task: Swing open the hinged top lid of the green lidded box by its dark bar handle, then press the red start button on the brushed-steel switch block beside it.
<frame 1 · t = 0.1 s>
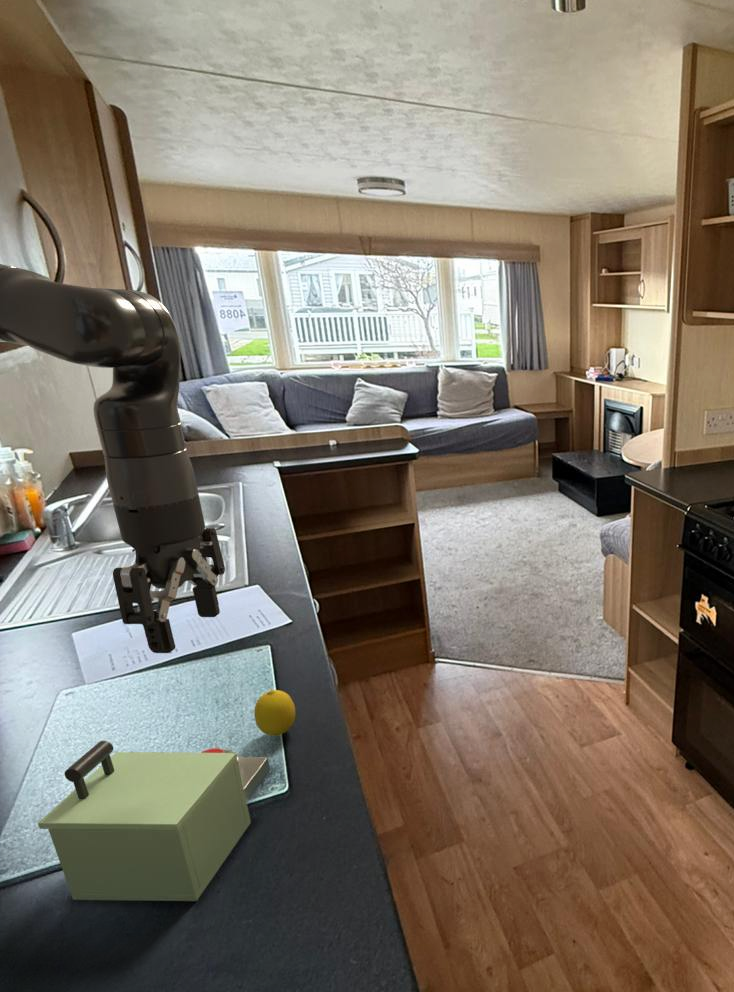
hand: (187, 632, 73), 28 cm above the counter, tool pointing down, fingers open, 8 cm apart
start button: (210, 761, 87), point 4 cm above the counter, slide at 0.1 cm
lemon: (279, 736, 100), on the counter
lid: (140, 773, 73), point 12 cm above the counter, hinge at 0.0°
green lidded box: (168, 858, 78), on the counter
switch block: (216, 788, 89), on the counter
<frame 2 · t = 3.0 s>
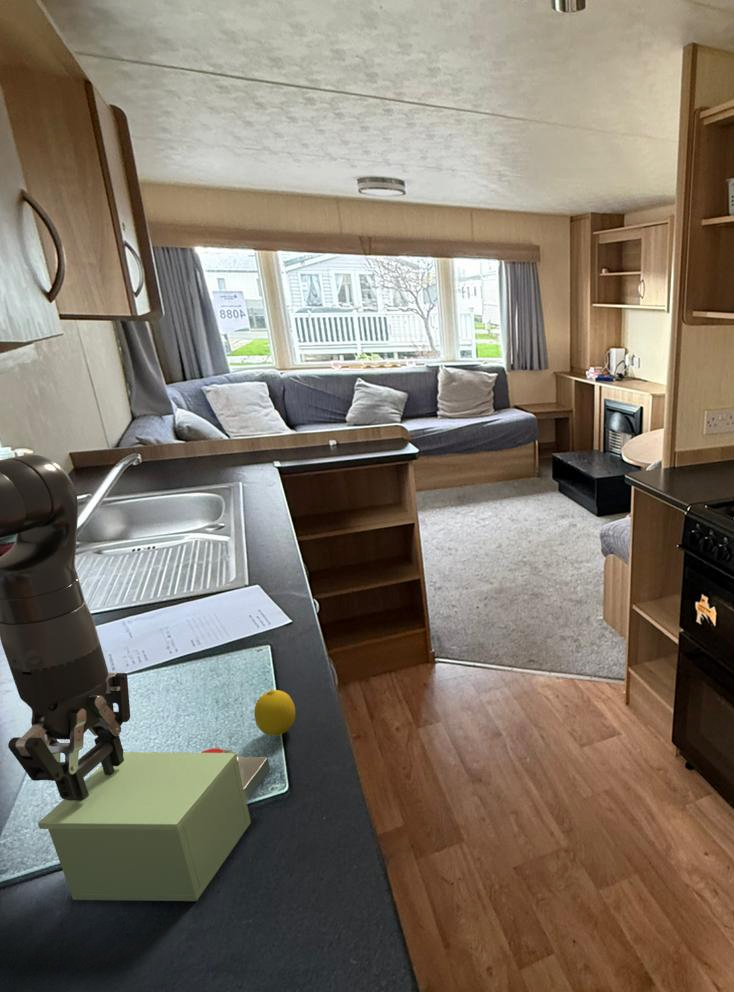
hand: (95, 780, 74), 11 cm above the counter, tool pointing down, fingers closed on lid, 5 cm apart
lid: (140, 773, 73), point 12 cm above the counter, hinge at 0.0°, touching gripper
everything else where it was.
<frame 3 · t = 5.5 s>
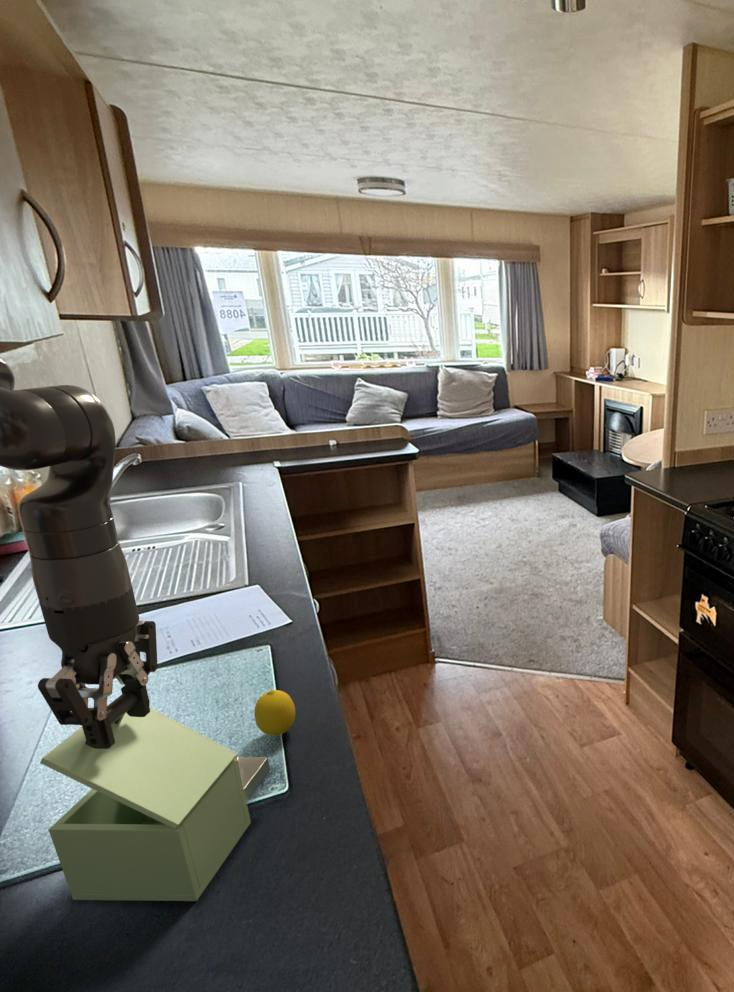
hand: (121, 729, 71), 18 cm above the counter, tool pointing down, fingers closed on lid, 5 cm apart
lid: (155, 745, 72), point 16 cm above the counter, hinge at 34.9°, touching gripper
everything else where it was.
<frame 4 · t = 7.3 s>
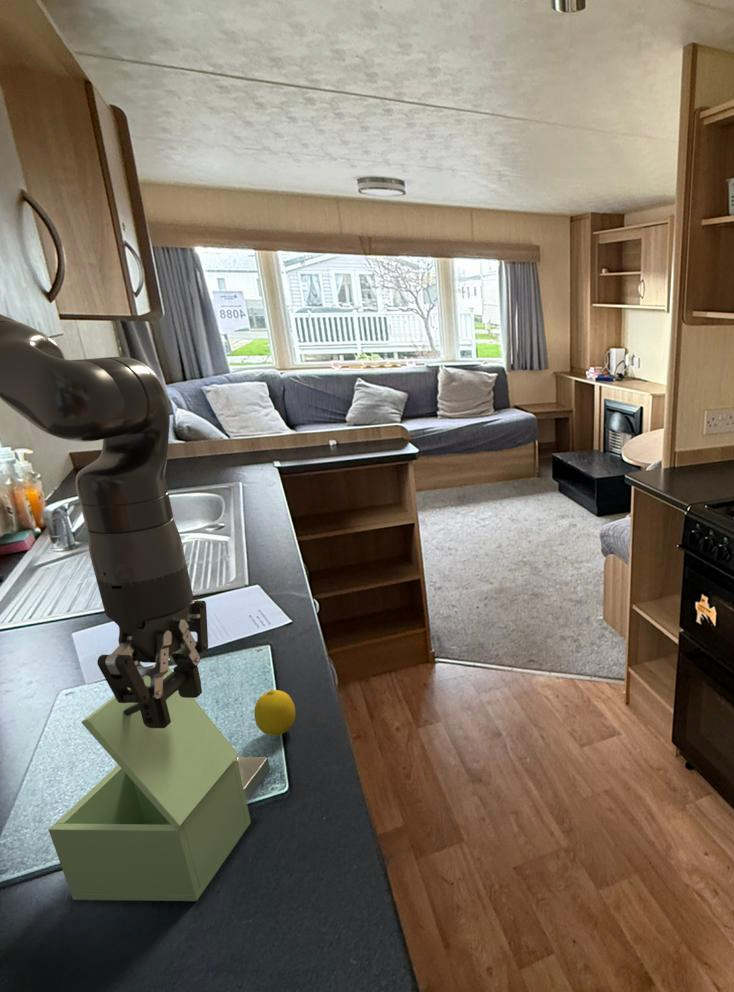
hand: (175, 710, 70), 21 cm above the counter, tool pointing down, fingers closed on lid, 5 cm apart
lid: (183, 733, 71), point 18 cm above the counter, hinge at 64.0°, touching gripper
everything else where it was.
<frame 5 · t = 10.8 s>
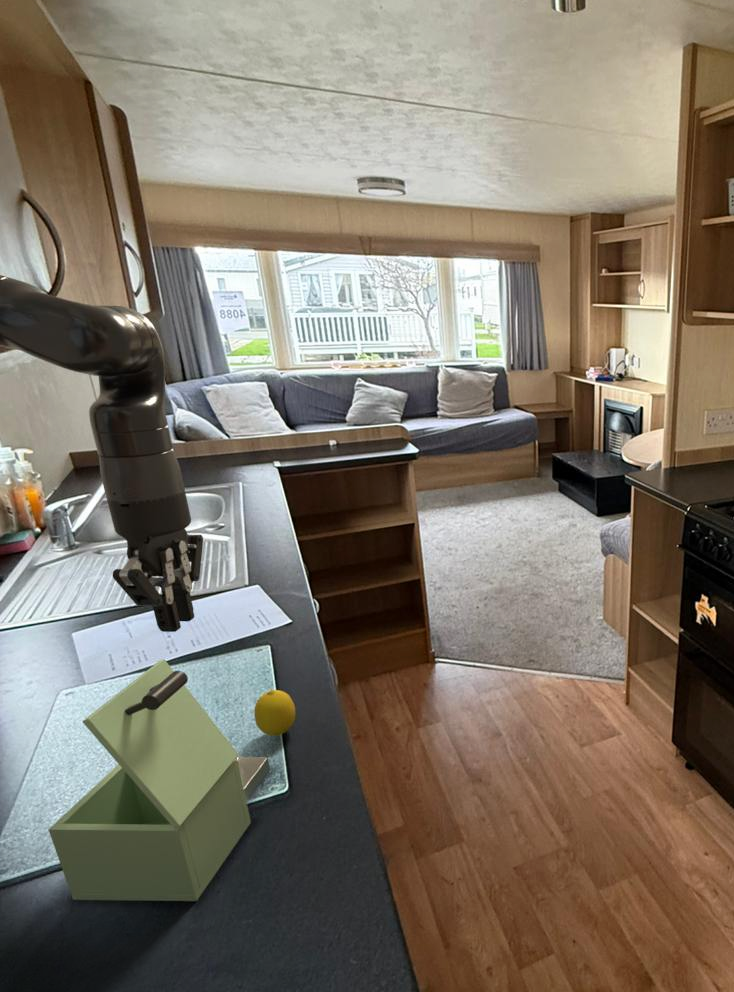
hand: (177, 624, 80), 25 cm above the counter, tool pointing down, fingers closed
lid: (184, 733, 71), point 18 cm above the counter, hinge at 64.6°
everything else where it was.
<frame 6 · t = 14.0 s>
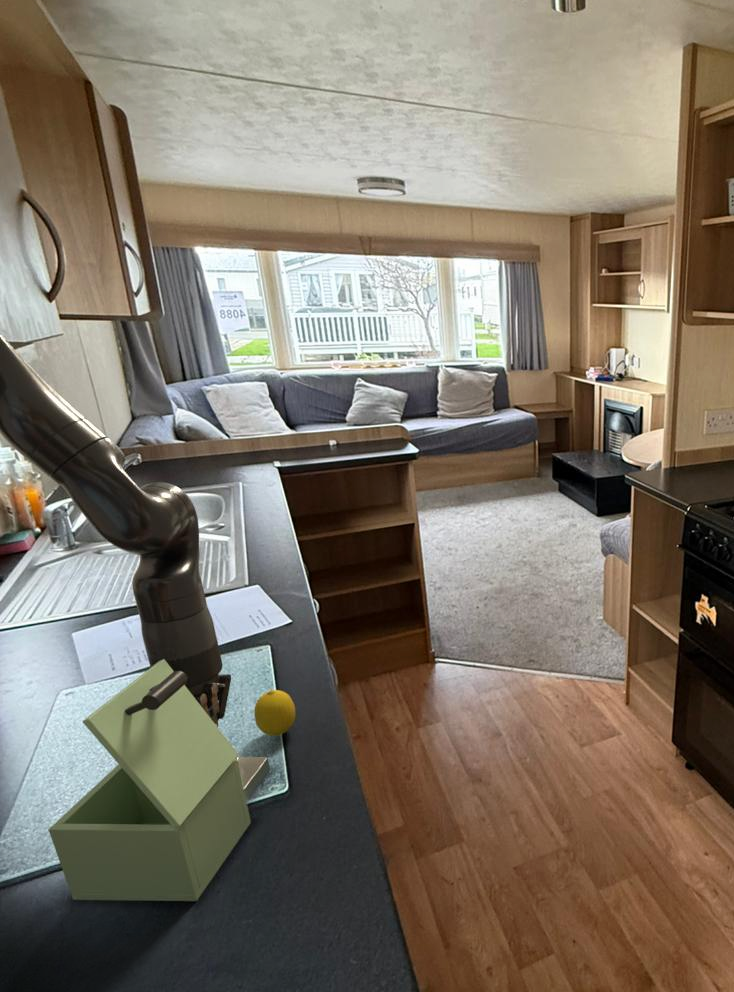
hand: (209, 757, 87), 5 cm above the counter, tool pointing down, fingers closed
start button: (210, 763, 87), point 4 cm above the counter, slide at -0.1 cm, touching gripper
everything else where it was.
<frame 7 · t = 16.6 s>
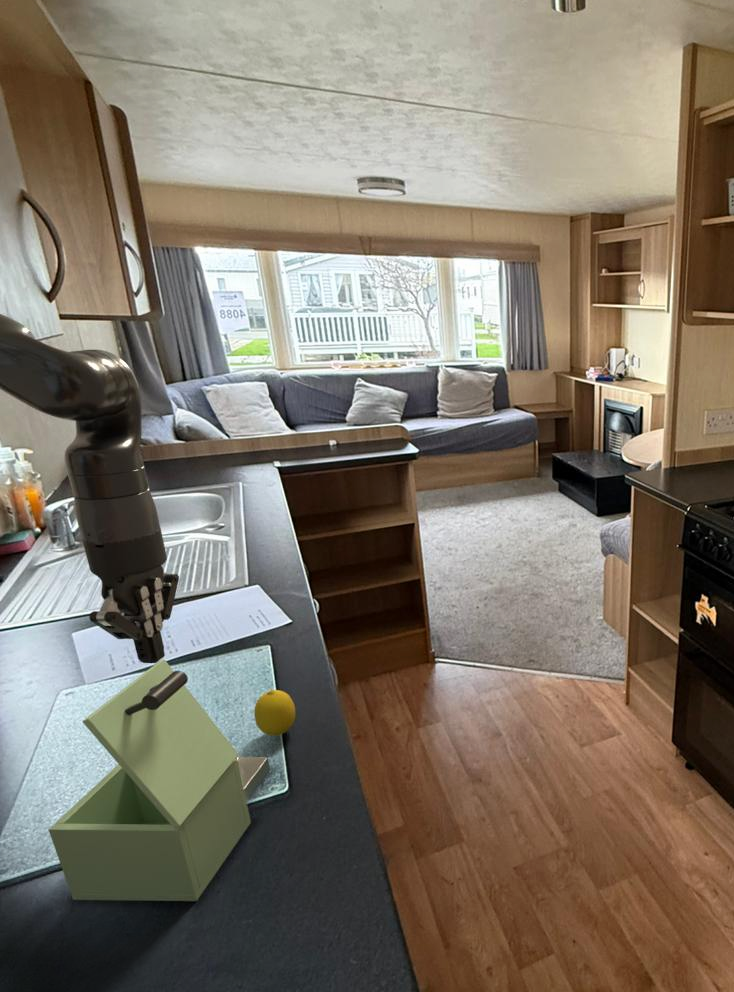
hand: (152, 660, 81), 20 cm above the counter, tool pointing down, fingers closed
start button: (210, 761, 87), point 4 cm above the counter, slide at 0.1 cm
everything else where it was.
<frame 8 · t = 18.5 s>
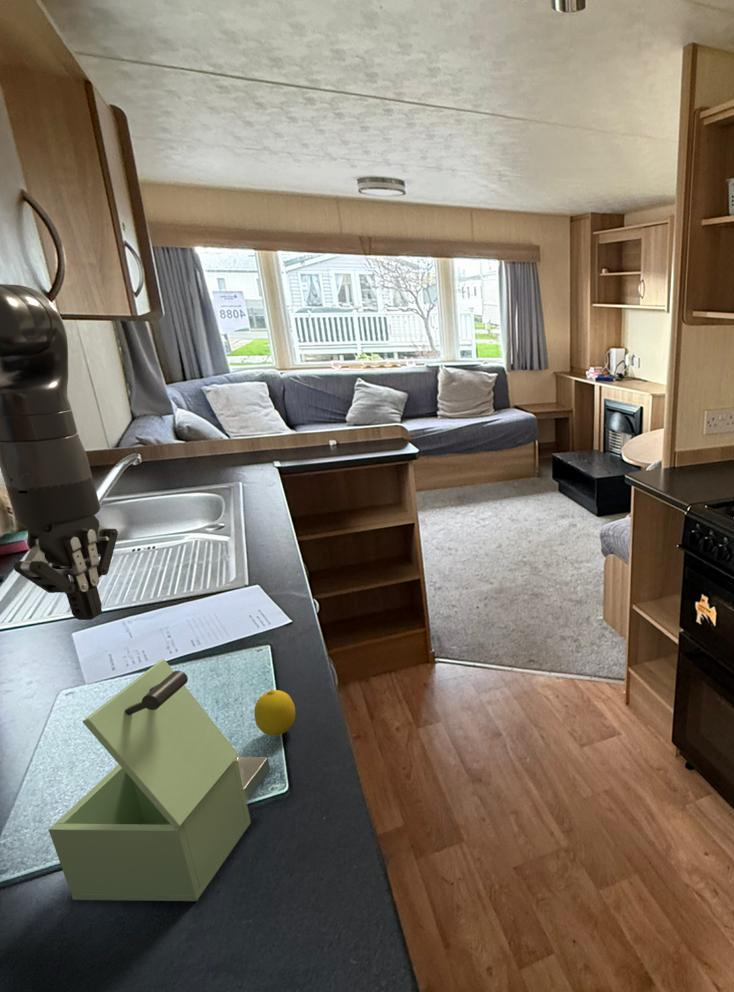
hand: (89, 617, 78), 27 cm above the counter, tool pointing down, fingers closed
nothing on the counter moved.
at the end: lid at +65° (first picture: +0°); start button pushed in 1.1 cm at the most during the clip, back to where it started at the end; start button slide at 0.1 cm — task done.
